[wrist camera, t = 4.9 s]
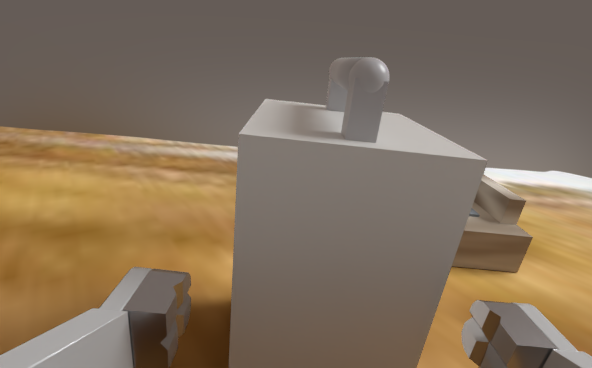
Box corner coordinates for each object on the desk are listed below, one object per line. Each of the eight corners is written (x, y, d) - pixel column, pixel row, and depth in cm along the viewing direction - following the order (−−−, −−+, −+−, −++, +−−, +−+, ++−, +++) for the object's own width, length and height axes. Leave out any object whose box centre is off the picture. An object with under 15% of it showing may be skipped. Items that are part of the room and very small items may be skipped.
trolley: (395, 449, 12) (530, 74, 7) (219, 437, 11) (232, 39, 7) (359, 306, 18) (414, 66, 14) (247, 296, 18) (264, 48, 13)
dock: (517, 272, 23) (543, 211, 22) (328, 254, 23) (339, 191, 21) (438, 196, 36) (450, 154, 35) (317, 183, 36) (323, 140, 34)
